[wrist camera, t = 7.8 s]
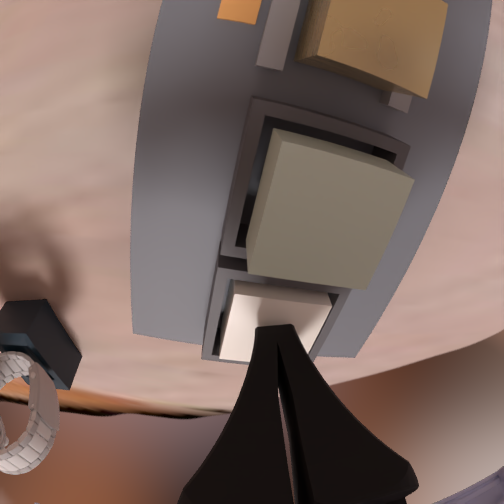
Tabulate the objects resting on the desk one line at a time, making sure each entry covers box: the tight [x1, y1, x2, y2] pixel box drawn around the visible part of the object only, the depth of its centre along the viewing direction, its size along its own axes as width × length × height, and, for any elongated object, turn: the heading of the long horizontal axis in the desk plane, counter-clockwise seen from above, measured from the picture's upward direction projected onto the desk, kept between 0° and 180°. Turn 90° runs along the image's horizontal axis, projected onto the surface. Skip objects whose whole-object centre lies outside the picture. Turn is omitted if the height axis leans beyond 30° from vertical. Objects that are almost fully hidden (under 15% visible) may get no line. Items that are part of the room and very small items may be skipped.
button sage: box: [246, 128, 415, 290], centre depth 8 cm, size 4×4×2 cm
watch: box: [0, 299, 82, 475], centre depth 13 cm, size 6×8×11 cm
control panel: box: [130, 0, 492, 365], centre depth 10 cm, size 12×23×4 cm, turn 168°
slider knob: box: [293, 0, 448, 99], centre depth 6 cm, size 3×3×3 cm
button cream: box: [219, 279, 332, 362], centre depth 12 cm, size 4×4×2 cm
